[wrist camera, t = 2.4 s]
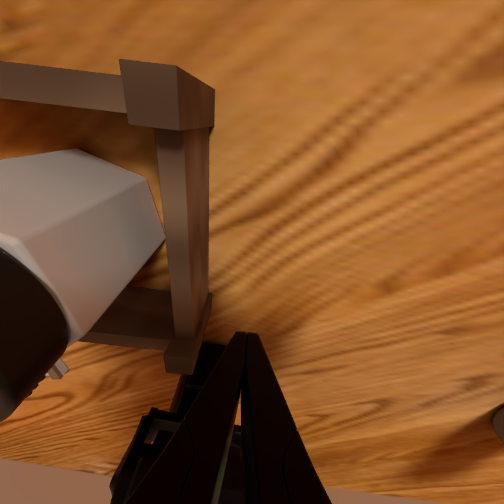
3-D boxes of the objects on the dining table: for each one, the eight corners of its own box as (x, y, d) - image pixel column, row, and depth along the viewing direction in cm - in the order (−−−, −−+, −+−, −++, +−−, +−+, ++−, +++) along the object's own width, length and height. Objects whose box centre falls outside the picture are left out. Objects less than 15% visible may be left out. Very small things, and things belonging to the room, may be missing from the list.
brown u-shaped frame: (211, 308, 21) (192, 375, 15) (72, 292, 21) (3, 355, 15) (214, 89, 13) (176, 65, 7) (-17, 61, 12) (-240, 15, 7)
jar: (45, 236, 18) (-253, 394, 8) (40, 129, 14) (-580, 155, 4) (156, 275, 19) (33, 453, 9) (179, 188, 16) (11, 326, 5)
